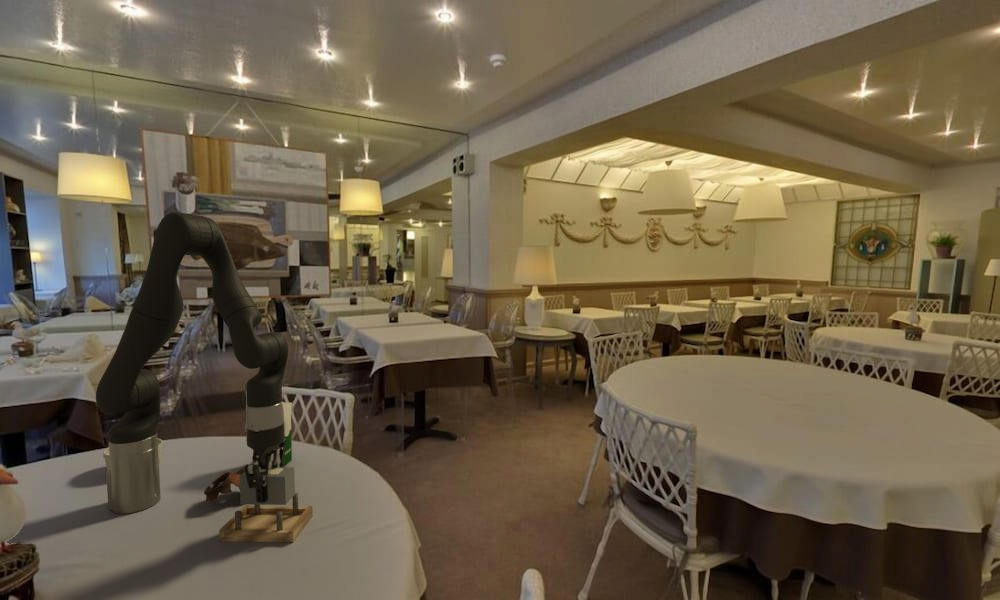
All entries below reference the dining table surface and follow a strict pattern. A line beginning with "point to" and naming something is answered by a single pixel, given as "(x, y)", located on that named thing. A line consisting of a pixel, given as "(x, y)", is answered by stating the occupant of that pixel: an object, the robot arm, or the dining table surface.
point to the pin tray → (267, 523)
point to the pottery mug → (223, 485)
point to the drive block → (271, 487)
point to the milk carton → (287, 432)
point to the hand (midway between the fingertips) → (267, 495)
